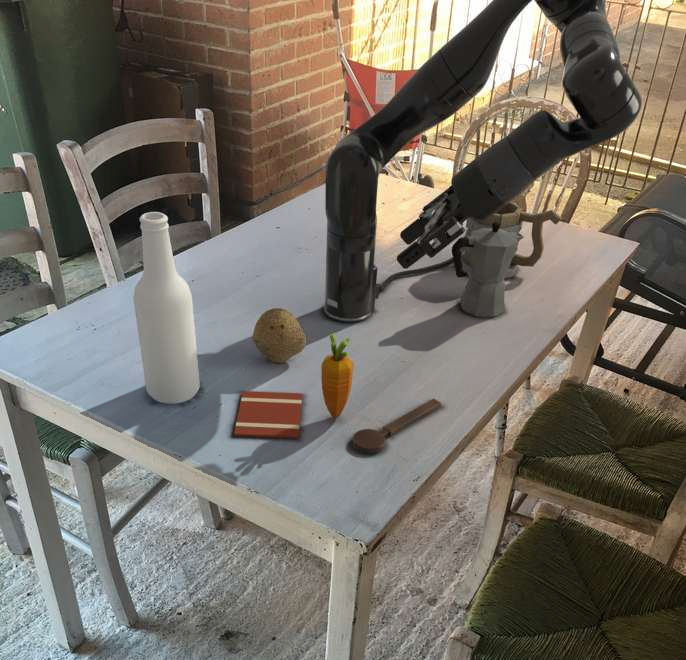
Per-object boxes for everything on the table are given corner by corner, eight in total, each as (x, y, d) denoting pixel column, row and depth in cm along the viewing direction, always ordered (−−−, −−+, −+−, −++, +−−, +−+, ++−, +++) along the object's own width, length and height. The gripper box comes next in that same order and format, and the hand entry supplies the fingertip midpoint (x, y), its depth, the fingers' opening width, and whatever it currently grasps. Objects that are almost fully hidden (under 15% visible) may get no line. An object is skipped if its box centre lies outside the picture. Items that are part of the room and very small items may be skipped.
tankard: (452, 272, 168) (461, 206, 159) (466, 251, 177) (476, 187, 168) (541, 291, 163) (557, 223, 153) (552, 268, 172) (567, 203, 163)
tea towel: (302, 395, 128) (302, 393, 128) (297, 438, 119) (297, 436, 118) (243, 393, 128) (242, 390, 128) (233, 436, 119) (233, 433, 118)
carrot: (319, 409, 125) (321, 329, 116) (349, 409, 126) (353, 329, 116) (320, 427, 121) (323, 345, 112) (351, 427, 122) (356, 345, 112)
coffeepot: (498, 293, 161) (514, 210, 150) (521, 313, 154) (539, 228, 143) (433, 302, 157) (444, 217, 146) (453, 323, 150) (466, 236, 139)
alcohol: (140, 403, 124) (114, 226, 106) (153, 375, 131) (131, 203, 112) (194, 407, 124) (177, 230, 105) (204, 378, 131) (190, 207, 112)
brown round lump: (243, 355, 137) (241, 305, 131) (284, 342, 142) (284, 293, 135) (270, 378, 132) (269, 327, 126) (312, 364, 136) (313, 314, 130)
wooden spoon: (425, 398, 129) (426, 393, 128) (448, 411, 126) (449, 406, 126) (346, 443, 118) (346, 437, 118) (368, 458, 116) (369, 452, 115)
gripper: (476, 142, 107) (388, 214, 115) (479, 175, 96) (381, 252, 104) (507, 183, 110) (419, 250, 118) (513, 219, 99) (416, 291, 107)
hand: (402, 251), depth 111 cm, fingers open, 8 cm apart
